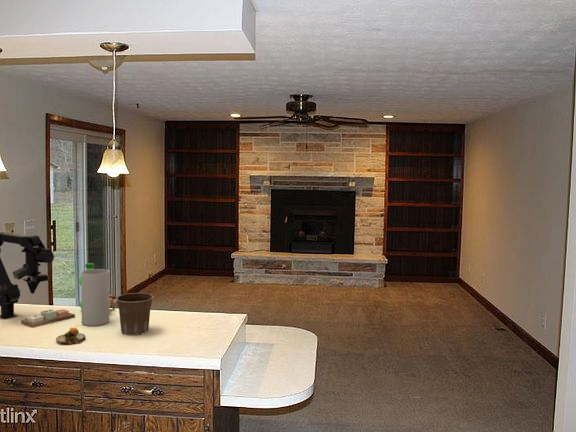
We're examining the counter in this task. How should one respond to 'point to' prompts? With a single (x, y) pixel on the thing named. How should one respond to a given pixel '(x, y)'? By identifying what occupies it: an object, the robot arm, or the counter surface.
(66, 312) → the tile three pips
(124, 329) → the plant pot
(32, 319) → the tile one pip
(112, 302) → the lion figurine
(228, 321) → the counter surface
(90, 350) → the counter surface
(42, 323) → the walnut board
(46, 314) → the tile two pips
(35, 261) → the robot arm
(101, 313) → the cylinder vase
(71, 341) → the mossy decorative centerpiece
